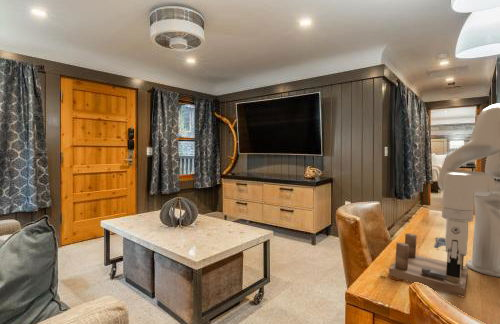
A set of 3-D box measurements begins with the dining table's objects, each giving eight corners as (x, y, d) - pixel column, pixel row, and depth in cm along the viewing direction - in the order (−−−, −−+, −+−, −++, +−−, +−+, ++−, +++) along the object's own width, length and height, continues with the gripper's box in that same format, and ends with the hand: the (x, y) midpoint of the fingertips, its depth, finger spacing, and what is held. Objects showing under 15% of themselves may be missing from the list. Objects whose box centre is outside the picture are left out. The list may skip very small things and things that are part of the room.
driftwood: (435, 238, 136) (435, 234, 136) (452, 241, 132) (453, 237, 132) (432, 251, 120) (432, 246, 119) (452, 255, 116) (452, 250, 115)
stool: (402, 258, 109) (403, 231, 109) (467, 273, 97) (469, 243, 96) (388, 275, 94) (390, 244, 93) (464, 297, 81) (466, 261, 81)
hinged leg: (420, 273, 89) (422, 249, 88) (422, 270, 92) (423, 245, 91) (460, 283, 83) (462, 257, 83) (460, 279, 86) (462, 253, 85)
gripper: (473, 221, 75) (468, 288, 77) (472, 211, 89) (469, 268, 90) (439, 217, 80) (435, 280, 81) (443, 207, 93) (440, 261, 94)
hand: (453, 273), depth 85 cm, fingers closed on hinged leg, 3 cm apart
